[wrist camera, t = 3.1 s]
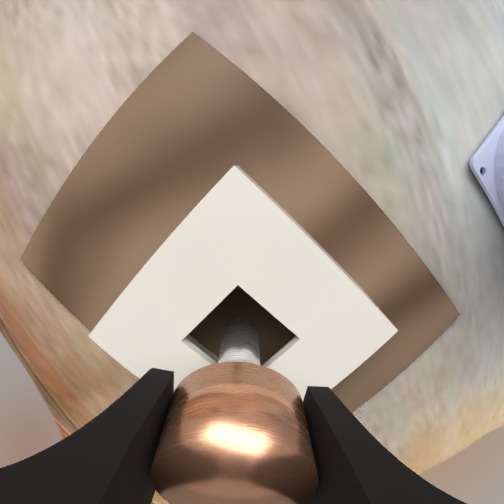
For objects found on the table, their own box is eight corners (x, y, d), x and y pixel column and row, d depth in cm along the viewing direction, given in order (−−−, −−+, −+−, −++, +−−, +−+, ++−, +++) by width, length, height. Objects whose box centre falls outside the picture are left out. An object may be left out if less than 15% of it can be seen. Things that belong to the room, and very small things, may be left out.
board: (456, 311, 17) (460, 314, 17) (278, 457, 20) (279, 461, 20) (194, 34, 13) (192, 31, 13) (23, 257, 16) (20, 259, 16)
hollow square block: (363, 290, 16) (398, 330, 12) (246, 392, 18) (245, 449, 14) (238, 166, 15) (234, 165, 10) (124, 295, 16) (88, 336, 12)
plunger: (304, 329, 13) (351, 480, 6) (242, 382, 13) (240, 532, 6) (238, 271, 12) (224, 410, 5) (177, 332, 13) (121, 478, 5)
